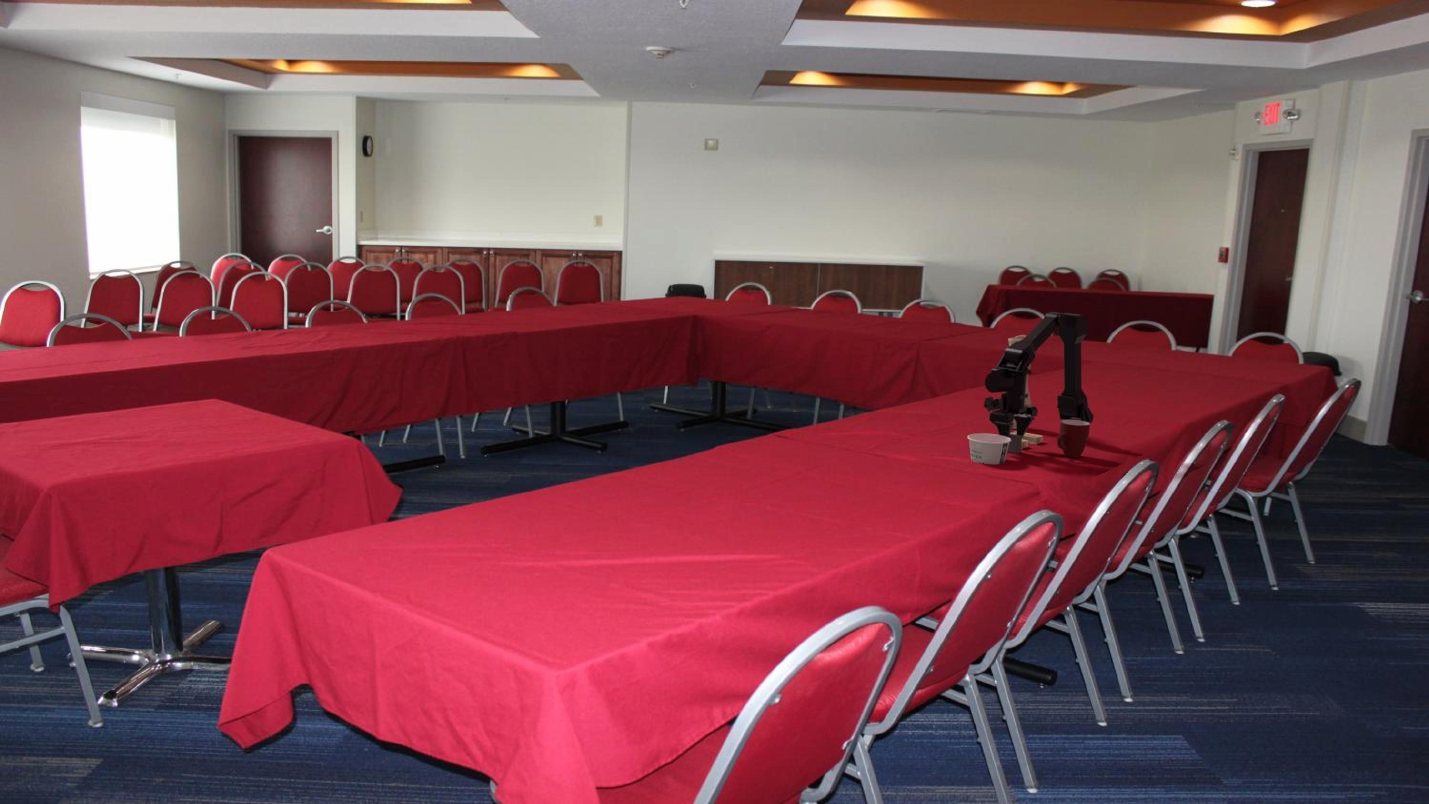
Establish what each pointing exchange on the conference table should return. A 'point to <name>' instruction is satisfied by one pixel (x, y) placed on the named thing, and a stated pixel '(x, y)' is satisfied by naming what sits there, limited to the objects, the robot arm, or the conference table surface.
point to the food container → (988, 448)
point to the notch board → (1029, 439)
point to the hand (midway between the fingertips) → (1011, 442)
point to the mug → (1073, 437)
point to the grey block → (1015, 444)
